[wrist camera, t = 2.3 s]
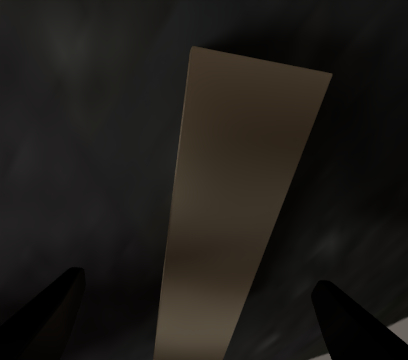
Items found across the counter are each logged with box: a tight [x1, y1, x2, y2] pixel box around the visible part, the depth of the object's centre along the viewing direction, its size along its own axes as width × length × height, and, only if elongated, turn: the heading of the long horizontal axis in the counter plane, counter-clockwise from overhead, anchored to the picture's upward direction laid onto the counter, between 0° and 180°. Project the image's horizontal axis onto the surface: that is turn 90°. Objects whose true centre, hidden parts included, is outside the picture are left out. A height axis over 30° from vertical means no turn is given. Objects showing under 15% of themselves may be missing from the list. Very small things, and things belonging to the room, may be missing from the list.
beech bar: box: [153, 46, 332, 360], centre depth 11 cm, size 15×4×4 cm, turn 170°
